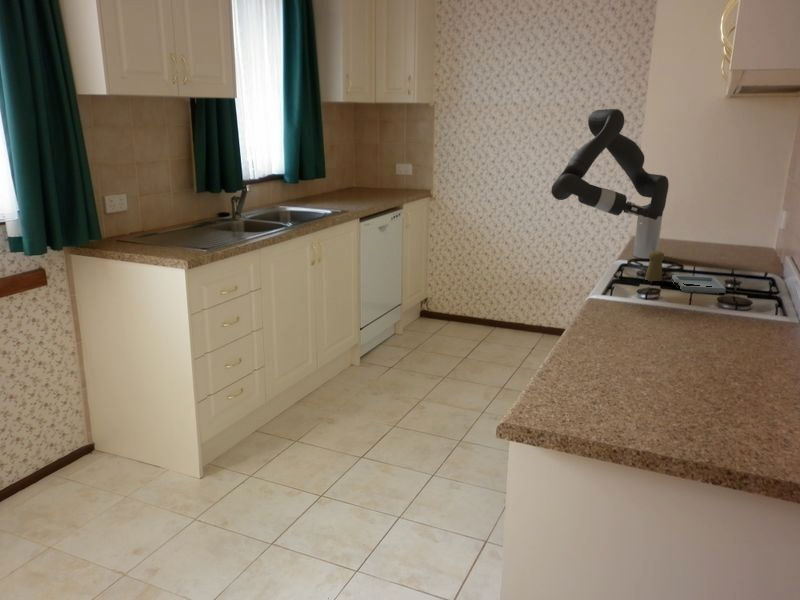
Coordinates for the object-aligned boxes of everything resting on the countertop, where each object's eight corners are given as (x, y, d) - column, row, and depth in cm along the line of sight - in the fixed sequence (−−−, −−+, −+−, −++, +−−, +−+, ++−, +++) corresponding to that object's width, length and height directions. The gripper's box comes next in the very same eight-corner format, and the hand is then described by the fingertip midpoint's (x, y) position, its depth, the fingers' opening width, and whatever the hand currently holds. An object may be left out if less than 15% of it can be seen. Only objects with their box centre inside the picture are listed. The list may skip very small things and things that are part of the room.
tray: (671, 280, 235) (672, 275, 235) (713, 282, 233) (713, 277, 233) (681, 291, 222) (681, 286, 222) (724, 294, 220) (725, 288, 219)
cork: (664, 284, 231) (668, 253, 227) (647, 283, 231) (651, 253, 227) (658, 279, 236) (662, 249, 233) (641, 279, 236) (645, 249, 233)
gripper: (620, 192, 217) (665, 207, 219) (606, 189, 231) (648, 203, 233) (612, 214, 219) (656, 228, 221) (598, 209, 233) (640, 223, 235)
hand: (652, 215), depth 227 cm, fingers open, 8 cm apart
